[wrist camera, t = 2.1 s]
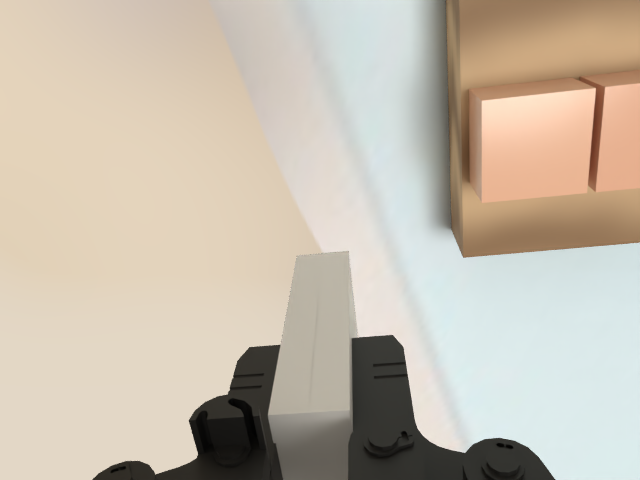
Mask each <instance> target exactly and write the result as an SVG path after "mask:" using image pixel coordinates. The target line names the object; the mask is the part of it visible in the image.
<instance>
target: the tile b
mask: <svg viewBox="0 0 640 480" xmlns="http://www.w3.org/2000/svg"><path fill="white" fill-rule="evenodd" d="M580 81H581V82H583V83H585V84H588V85H590V86H592V87H595V88H596V93H595V105H594V117H593V129H592V140H591V152H590V164H589V176H588V186H589V187H590V188H591V189H592V190H594V191H595V192H604V191H615V190H625V189H636V188H640V70H633V71H624V72H615V73H606V74H598V75H589V76H580Z"/></svg>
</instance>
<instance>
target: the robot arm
mask: <svg viewBox="0 0 640 480" xmlns="http://www.w3.org/2000/svg"><path fill="white" fill-rule="evenodd" d="M233 377H234V378H233V379H232V382H231V385H230V391H229V392H228V395H223V396H218V397H216V398H213V399H211V400H209V401H207V402H205V403H204V404H202V405H201V406H200V407H199V408H198V409H196V410H195V412H194V413H193V415H192V416H191V418H190V419H189V423H190V426H191V430H192V434H193V437H194V441H195V444H196V448H197V451H198V456H197V458H196V459H195V460H193V461H192V462H190V463H188V464H186V465H183V466H180V467H178V468H175V469H172V470H168V471H165V472H162V473H159V474H156V475H155V473H154V471H153V470H152V469H151V467H150V466H149V465H148V464H145V463H143V462H140V461H125V462H122V463H119V464H116V465H113V466H110V467H109V468H107V469H106V470H104V471H102V472H101V473H99V474H98V475H97V476H96V477H95V478H94V479H93V480H555V479H554V477H553V476H552V475H551V473H550V472H549V471H548V469H547V468H546V467H545V465H544V464H543V462H542V461H541V460H540V458H539V457H538V456H537V455H536V454H535V453H534V452H532V451H531V450H530V449H529V448H528V447H526V446H524V445H522V444H520V443H518V442H516V441H513V440H508V439H502V438H493V439H484V440H482V441H480V442H478V443H475V444H473V445H472V446H471V447H470V448H469V449H468V451H467V452H466V453H462V452H457V451H452V450H448V449H445V448H442V447H439V446H437V445H435V444H433V443H431V442H429V441H428V440H427V439H426V438H425V437H423V436H422V434H421V433H420V432H419V430H418V429H417V426H416V423H415V419H414V413H413V406H412V400H411V393H410V387H409V380H408V374H407V368H406V361H405V355H404V348H403V346H402V345H401V344H400V343H399V342H398V341H397V339H396V338H395V337H394V336H393V335H386V336H373V337H360V338H357V324H356V314H355V305H354V296H353V287H352V278H351V269H350V260H349V251H344V252H333V253H321V254H310V255H299V256H297V258H296V264H295V269H294V275H293V280H292V286H291V291H290V296H289V302H288V307H287V313H286V318H285V324H284V330H283V335H282V340H281V345H273V346H260V347H249V348H248V350H247V351H246V352H245V353H244V354H243V355H242V356H241V357H240V359H239V360H238V361H237V365H236V368H235V372H234V375H233Z"/></svg>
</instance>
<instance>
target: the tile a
mask: <svg viewBox="0 0 640 480" xmlns="http://www.w3.org/2000/svg"><path fill="white" fill-rule="evenodd" d="M595 93H596V88H595V87H592V86H590V85H588V84H585V83H583V82H581V81H579V80H576V79H574V78H572V77H571V78H562V79H553V80H544V81H535V82H527V83H518V84H509V85H500V86H491V87H482V88H473V89H469V169H470V184H471V186H472V188H473V189H474V191H475V193H476V194H477V196H478V198H479V199H480V201H481V203H487V202H498V201H508V200H519V199H530V198H540V197H551V196H561V195H572V194H583V193H587V188H588V176H589V164H590V152H591V140H592V129H593V117H594V105H595Z"/></svg>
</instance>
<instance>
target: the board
mask: <svg viewBox="0 0 640 480" xmlns="http://www.w3.org/2000/svg"><path fill="white" fill-rule="evenodd" d="M446 24H447V65H448V107H449V148H450V190H451V229H452V232H453V234H454V237H455V239H456V241H457V244H458V246H459V249H460V251H461V253H462V256H463V258H464V257H476V256H488V255H499V254H511V253H523V252H534V251H546V250H558V249H569V248H581V247H593V246H604V245H616V244H628V243H639V242H640V188H636V189H625V190H615V191H604V192H595V191H594V190H592V189H591V188H590V187H589V186H588V188H587V193H583V194H572V195H561V196H551V197H540V198H530V199H519V200H508V201H498V202H487V203H481V201H480V199H479V198H478V196H477V194H476V193H475V191H474V189H473V188H472V186H471V184H470V169H469V89H473V88H482V87H491V86H500V85H509V84H518V83H527V82H535V81H544V80H553V79H562V78H571V77H572V78H574V79H576V80H579V81H580V76H589V75H598V74H606V73H615V72H624V71H633V70H640V0H446Z"/></svg>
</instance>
